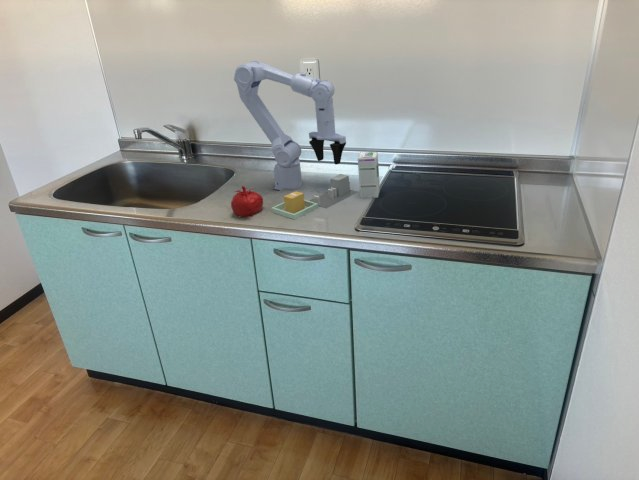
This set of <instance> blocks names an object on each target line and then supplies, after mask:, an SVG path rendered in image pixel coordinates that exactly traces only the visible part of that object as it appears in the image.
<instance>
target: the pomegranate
mask: <svg viewBox="0 0 639 480" xmlns="http://www.w3.org/2000/svg"><path fill="white" fill-rule="evenodd" d="M240 188H241V189H242V191H241V190H234V192H235V193H236V194H234V196H233V198H232V200H231V202H230V207H231V211H232V213H233V214H234V215H235V216H236V217H239V216H240V218H248V217H254V215H256V214H258V213H259V212H261V211H263V210H262V209H263V205H264V198H263V197H262V195H260V194H259V192H256V191H251V190H252V188H250V189H248V190H247V188H246V187H245V186H244V185H241V187H240ZM256 189H257V188H254V190H256Z"/></svg>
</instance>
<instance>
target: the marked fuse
mask: <svg viewBox="0 0 639 480" xmlns="http://www.w3.org/2000/svg"><path fill="white" fill-rule="evenodd" d="M304 194H305V193H304V192H299V191H295V190H294V191H293V192H291V193H288V194H287V195H284V196H283V202H285V207H284V208H285V210H284V211H286V212H290V213H293V214H295V213H297V212H299V211H301V210H303V209H305V208H306V205H305V202H304V200H305V195H304Z"/></svg>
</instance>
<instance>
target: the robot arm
mask: <svg viewBox="0 0 639 480" xmlns="http://www.w3.org/2000/svg"><path fill="white" fill-rule="evenodd" d="M263 80H269V81H272V82H276V83H279V84H282V85H285V86H289V87H290V89H291V90H292V91H293V92H295V93H297V94H299V95H300V94H301V95H303V96H306V97H308V98H311V99H312V100H313V101H314V105H315V106H314V107H315V118H316V129H317V131H309V133H308V138H309V142H308V144H309V145H310V147H311V148H312V150H313V152H314V154H315V157H316V160H317V162H321V161H323V160H324V158H325V156H324V145H325V141H326V142H333V143H330V144H329V147H330V148H331V151H332V155H333V156H332V157H333V163H334V165H339V164H341V160H342V156H343V152H344V149H345V147H346V145H347V140H346V139H347V138H346V135H342V134H338V133H336V123H335V109H334V99H333V97H334V94H335V86H334V85H333V83H332V82H330V81H329V80H328V79H324V80H321V79H320V78H314V77H311V76H308V75H307V73H305V72H301V73H300V72H297V73H296V74H294V75H292V74H290V73H288V72H285V71H283V70H281V69H279V68H276V67H274V66H271V65H269V64H267V63H264V62H260V61H257V60H252V61H250V62H248V63H244V64H241V65H240V64H239V66H237V67H236V68H235V72H234V76H233V81H234V82H235V84H236V86H237V90H238V95H239V98H240V100H241V102H242V103H243V105H244V107H246V109H247V111H248V112H249V113H250V114H251V116H252V118H253V119H254V120H255V122H256V123H257V124H258V126H259V128H261V131H262V132H263V133H264V134H265V136H266V137H267V139H268V140H269V142H270V143H271V152H272V153H273V155H274V159H275V162H276V164H275V165H274V167H273V176H274V182H275V187H273V189H275V190H277V191H278V190H279V191H282V190H284V189H285V190H294V189H299V188H301V187H302V186H303V178H302V169H301V168H302V167H301V161H300V156H301V155H302V147H301V145H300V144H299V143H298V142H296V141H294V140H293V138H292V137H291V136H290V135H288V134H286V133H285V132H284V131H283V130H282V129H283V128H281V126H280V125H279V124H278V122H277V120H276V119H275V118H274V116H273V115H272V113H271V112H270V110H269V109H268V107H267V106H266V104H265V103H264V101H263V100H262V99H261V97H260V96H259V95H258V93H259V92H258V91H259V87H260V84H261V82H262V81H263ZM310 139H311V140H310Z"/></svg>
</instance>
